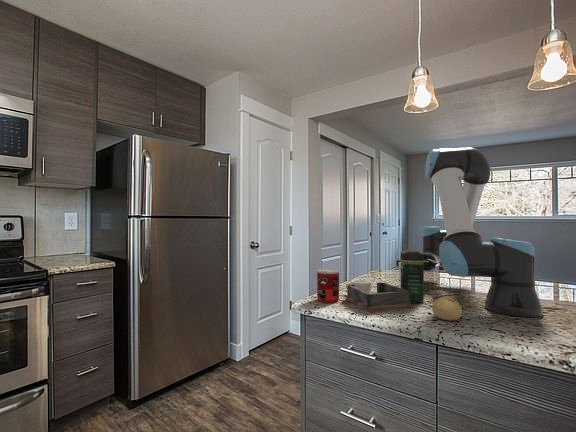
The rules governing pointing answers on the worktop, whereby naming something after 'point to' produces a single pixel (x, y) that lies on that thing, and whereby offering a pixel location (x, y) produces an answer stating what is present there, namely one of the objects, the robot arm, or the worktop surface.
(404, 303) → the tray
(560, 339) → the worktop surface
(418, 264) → the coffee jar
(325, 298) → the canned food
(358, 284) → the teacup
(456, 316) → the onion
